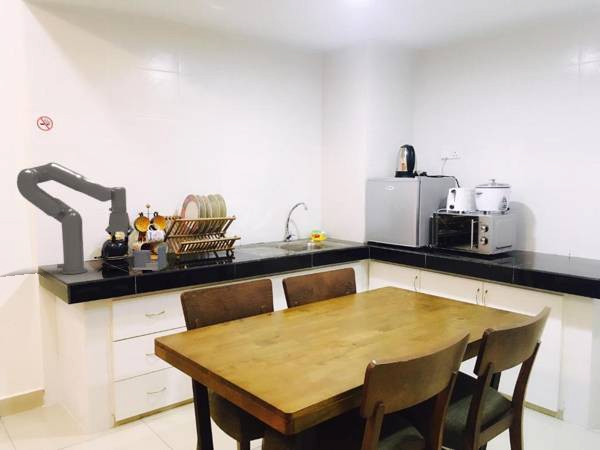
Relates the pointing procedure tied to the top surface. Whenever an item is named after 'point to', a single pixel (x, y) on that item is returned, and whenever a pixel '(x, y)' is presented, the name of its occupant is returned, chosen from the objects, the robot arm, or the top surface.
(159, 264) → the grey l-shaped piece
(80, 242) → the robot arm
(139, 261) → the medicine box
